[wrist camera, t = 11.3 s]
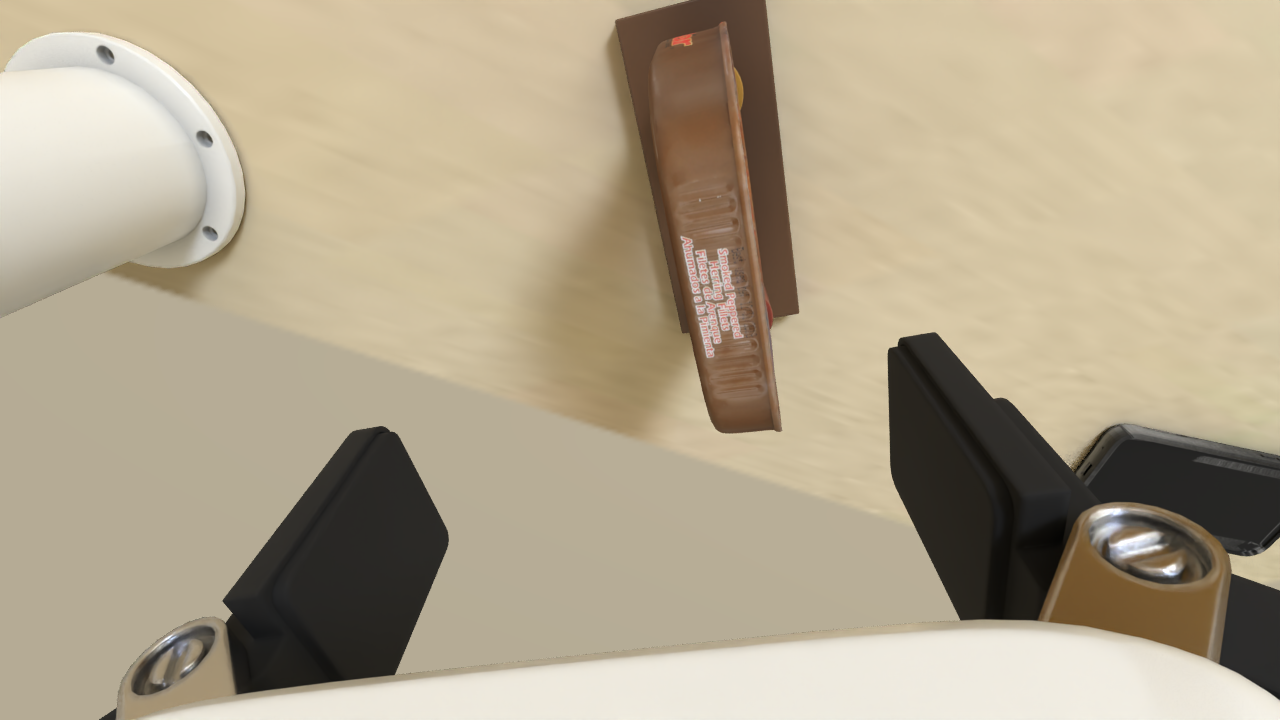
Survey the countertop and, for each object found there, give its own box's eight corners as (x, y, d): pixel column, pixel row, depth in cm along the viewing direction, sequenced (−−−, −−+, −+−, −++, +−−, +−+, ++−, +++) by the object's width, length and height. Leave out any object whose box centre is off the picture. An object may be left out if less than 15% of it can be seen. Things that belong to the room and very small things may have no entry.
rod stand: (682, 325, 37) (682, 393, 31) (616, 20, 29) (597, 20, 23) (796, 305, 36) (822, 371, 30) (760, -18, 28) (785, -29, 22)
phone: (1256, 559, 42) (1057, 519, 42) (1244, 546, 43) (1048, 507, 43) (1344, 475, 38) (1125, 429, 38) (1327, 464, 39) (1114, 419, 39)
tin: (773, 362, 29) (804, 475, 22) (710, 372, 30) (719, 486, 23) (728, 18, 22) (750, 18, 15) (645, 39, 23) (628, 48, 16)
